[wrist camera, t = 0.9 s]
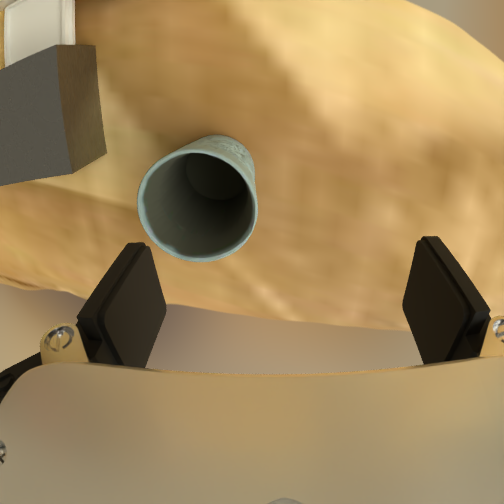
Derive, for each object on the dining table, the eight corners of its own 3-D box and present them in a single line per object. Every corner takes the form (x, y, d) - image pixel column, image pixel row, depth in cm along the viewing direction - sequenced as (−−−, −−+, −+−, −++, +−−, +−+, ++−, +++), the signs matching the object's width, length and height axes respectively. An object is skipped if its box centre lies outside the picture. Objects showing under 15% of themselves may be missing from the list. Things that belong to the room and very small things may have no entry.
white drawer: (3, 5, 22) (-23, 4, 17) (86, -38, 21) (62, -47, 16) (4, 87, 29) (-23, 94, 24) (86, 56, 28) (59, 57, 23)
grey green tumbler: (167, 193, 38) (128, 241, 28) (189, 114, 33) (149, 133, 22) (246, 219, 39) (234, 277, 29) (275, 142, 34) (275, 174, 24)
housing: (7, 79, 29) (-32, 88, 22) (95, 45, 28) (56, 44, 21) (21, 168, 37) (-14, 189, 30) (106, 153, 35) (72, 173, 28)
